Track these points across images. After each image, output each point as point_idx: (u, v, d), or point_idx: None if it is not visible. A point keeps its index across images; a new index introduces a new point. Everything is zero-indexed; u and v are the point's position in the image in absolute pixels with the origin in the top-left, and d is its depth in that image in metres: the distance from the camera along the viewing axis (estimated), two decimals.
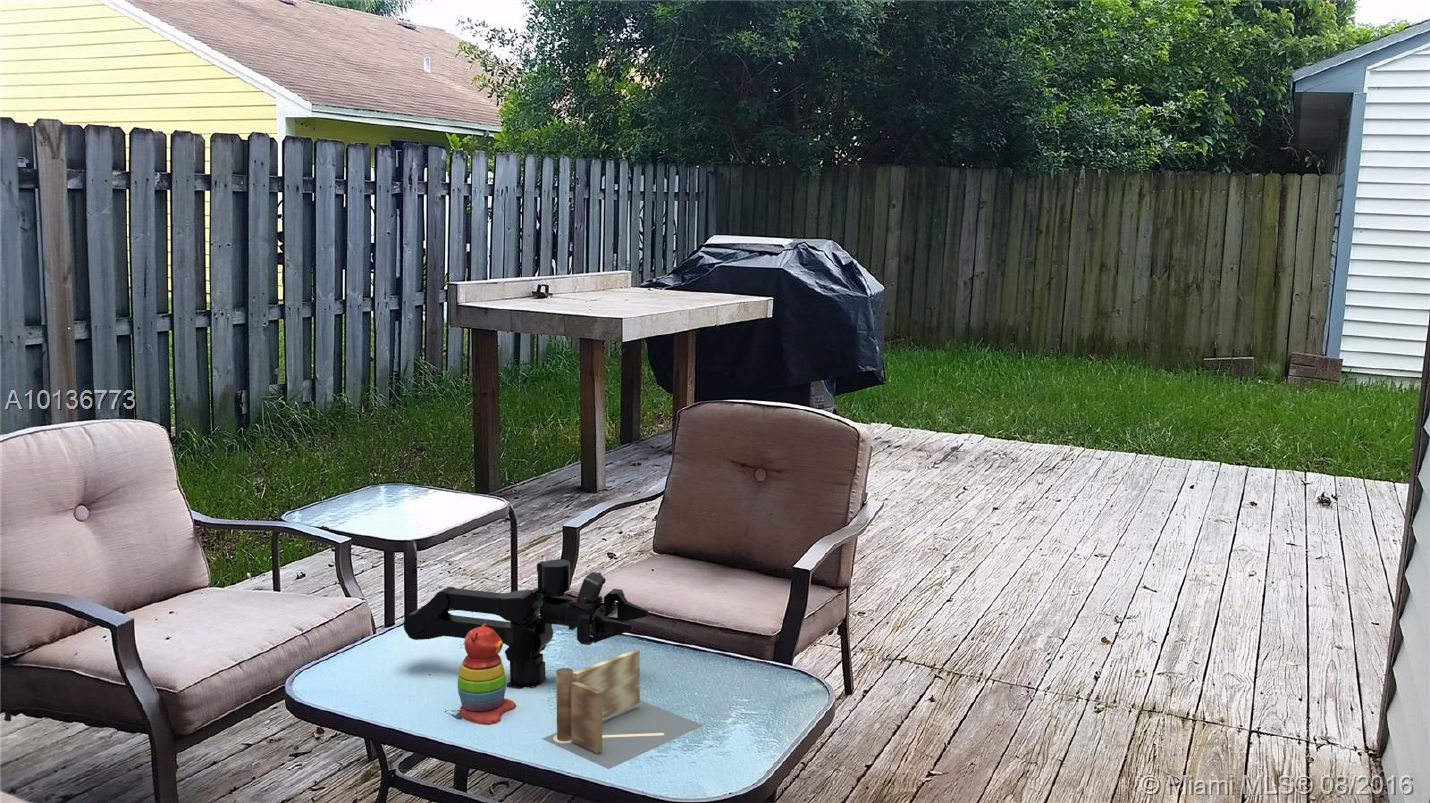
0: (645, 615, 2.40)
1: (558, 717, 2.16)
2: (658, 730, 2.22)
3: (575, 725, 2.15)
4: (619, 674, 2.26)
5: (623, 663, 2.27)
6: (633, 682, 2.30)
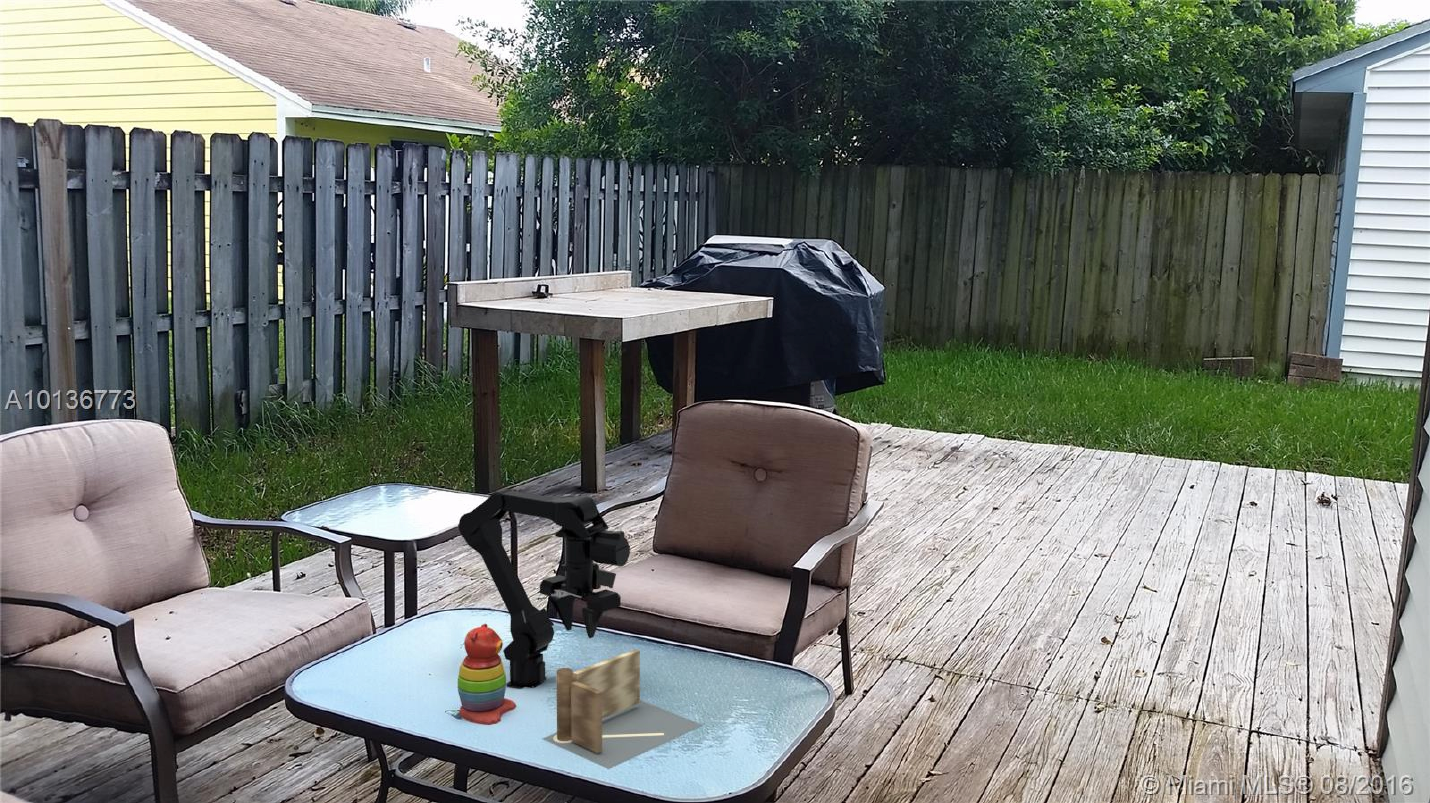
0: (568, 628, 2.40)
1: (558, 717, 2.16)
2: (658, 730, 2.22)
3: (575, 725, 2.15)
4: (619, 674, 2.26)
5: (623, 663, 2.27)
6: (633, 682, 2.30)
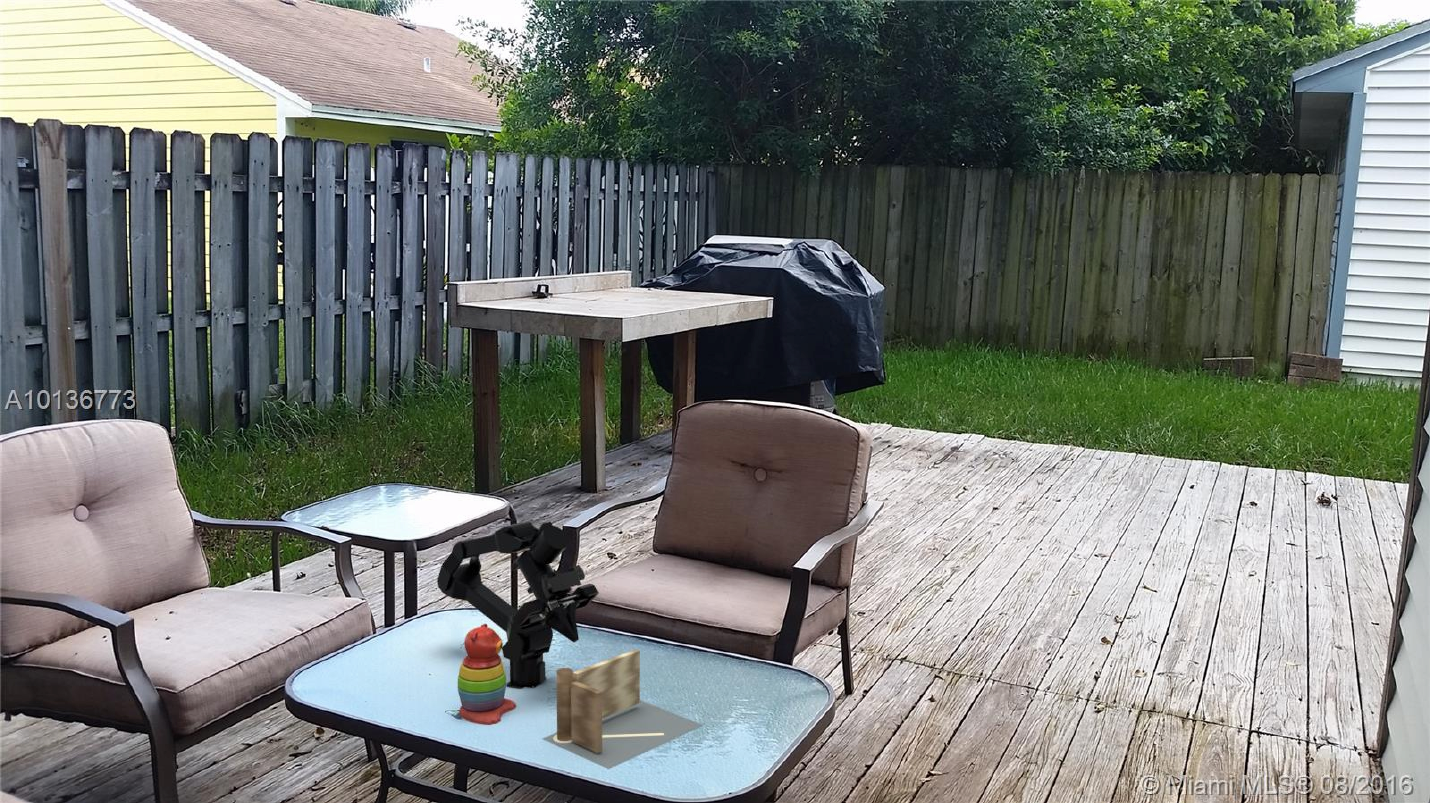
0: None
1: (558, 717, 2.16)
2: (658, 730, 2.22)
3: (575, 725, 2.15)
4: (619, 674, 2.26)
5: (623, 663, 2.27)
6: (633, 682, 2.30)
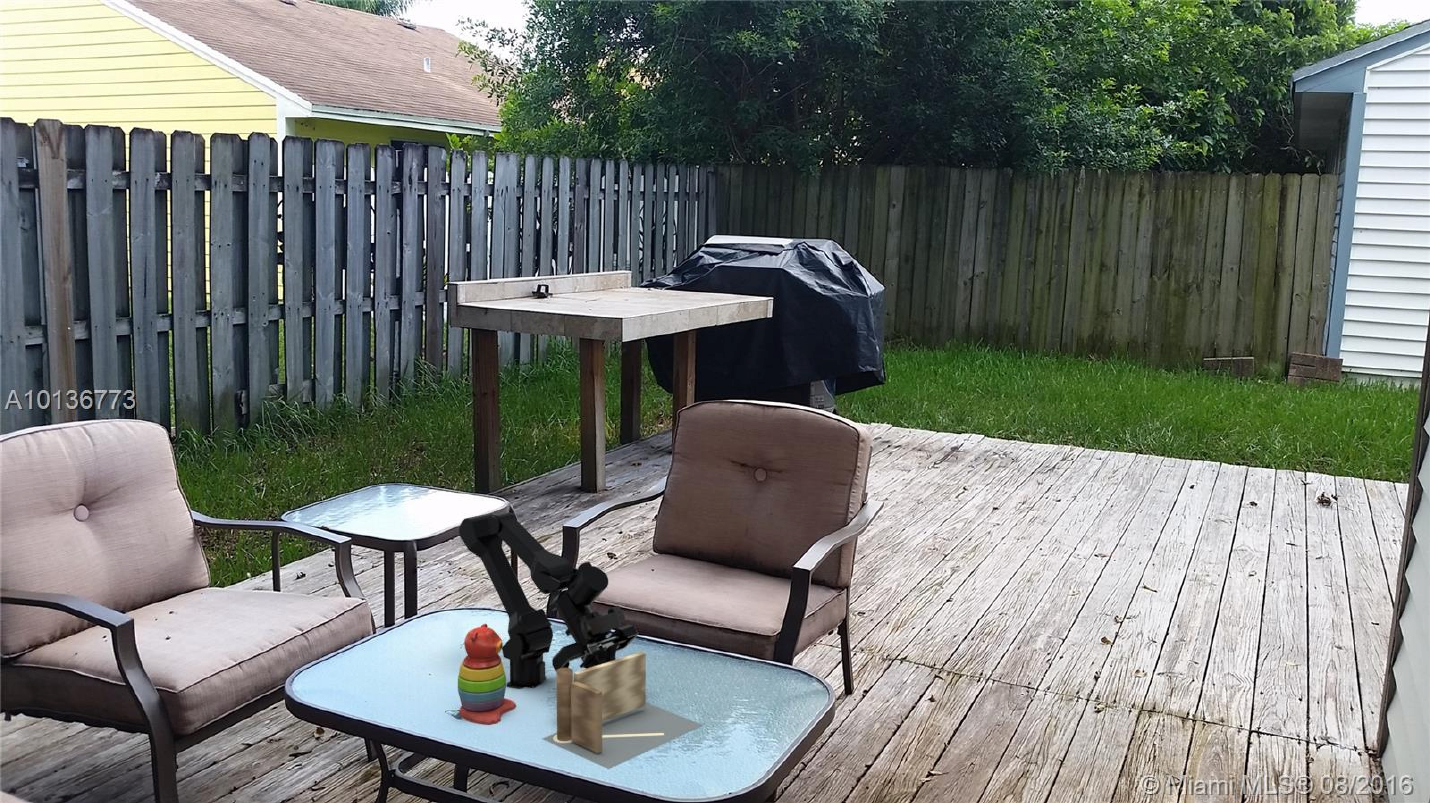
0: None
1: (558, 717, 2.16)
2: (658, 730, 2.22)
3: (575, 725, 2.15)
4: (623, 676, 2.25)
5: (627, 665, 2.26)
6: (638, 684, 2.28)
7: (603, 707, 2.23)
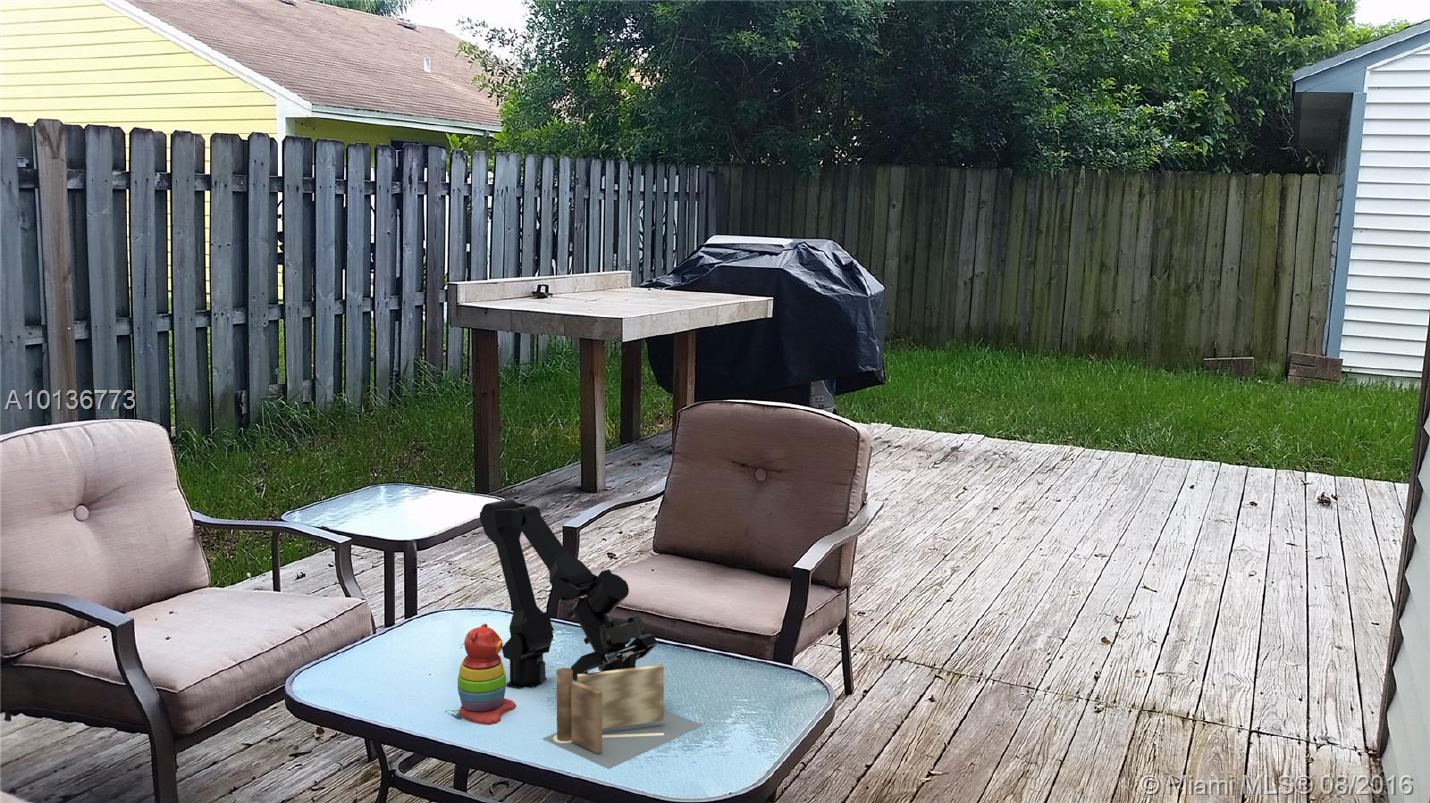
0: None
1: (558, 717, 2.16)
2: (658, 730, 2.22)
3: (575, 725, 2.15)
4: (635, 686, 2.21)
5: (640, 675, 2.21)
6: (655, 697, 2.22)
7: (610, 714, 2.20)
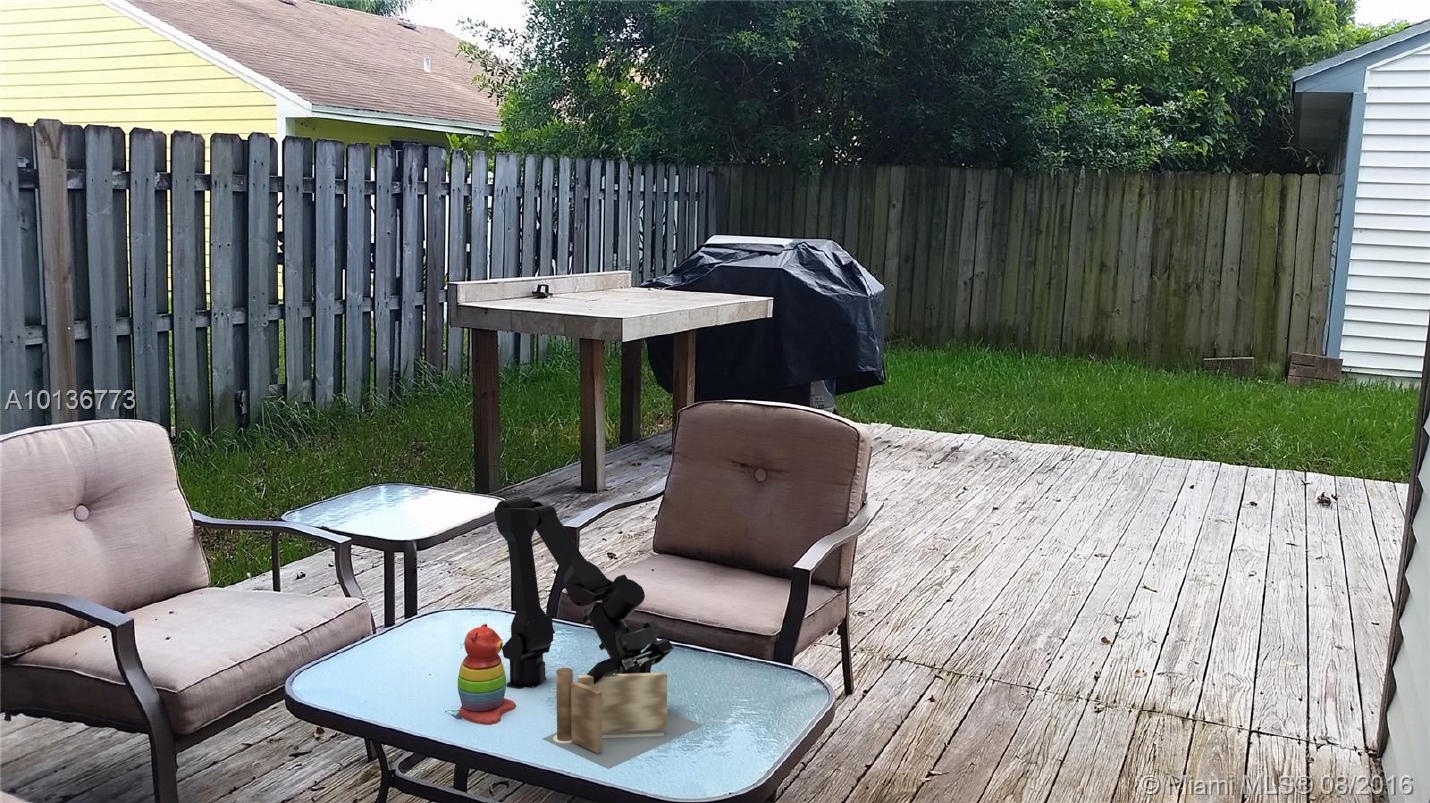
0: None
1: (558, 717, 2.16)
2: (658, 730, 2.22)
3: (575, 725, 2.15)
4: (637, 692, 2.18)
5: (642, 681, 2.18)
6: (657, 705, 2.19)
7: (611, 718, 2.18)
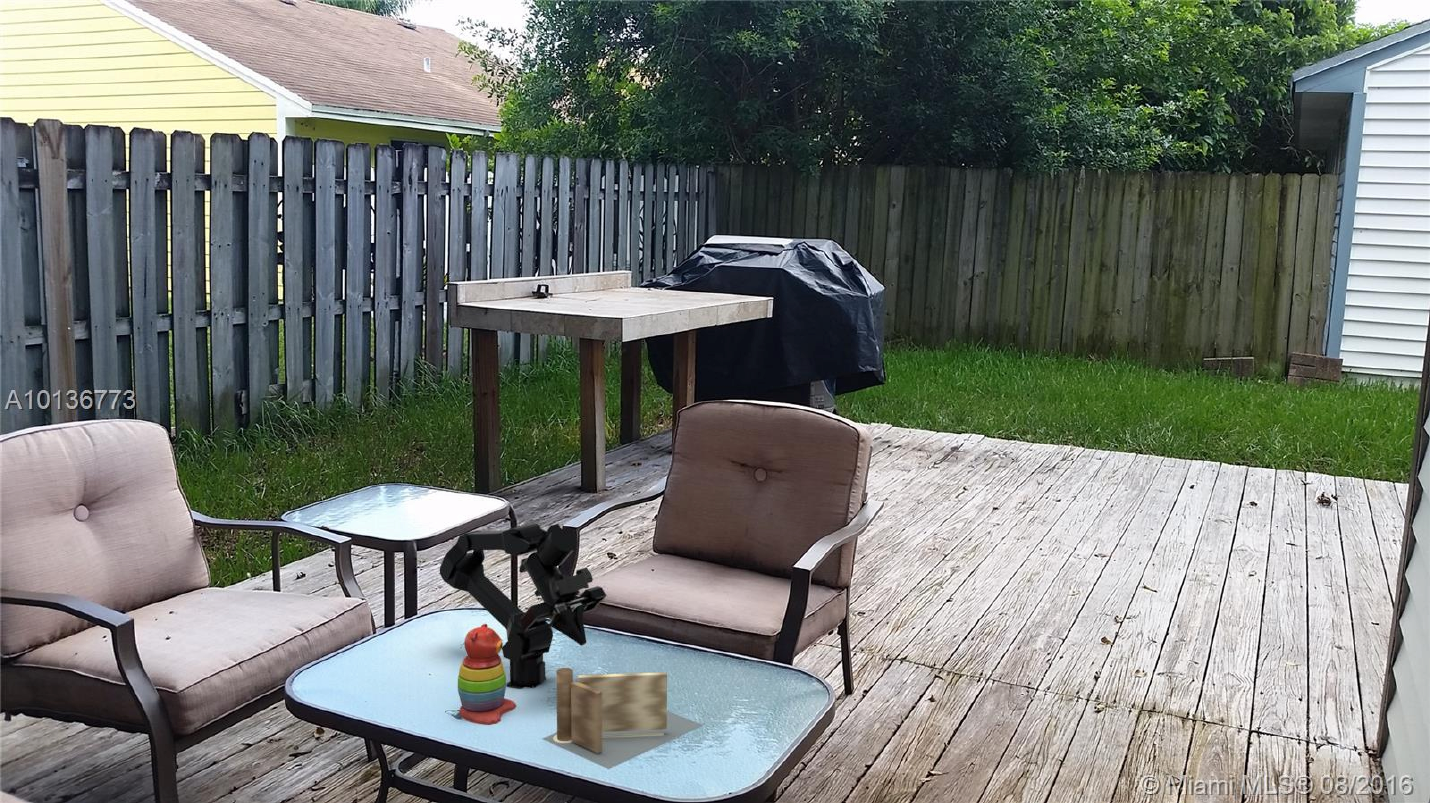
0: None
1: (558, 717, 2.16)
2: (658, 730, 2.22)
3: (575, 725, 2.15)
4: (637, 692, 2.18)
5: (642, 681, 2.18)
6: (657, 705, 2.19)
7: (611, 718, 2.18)
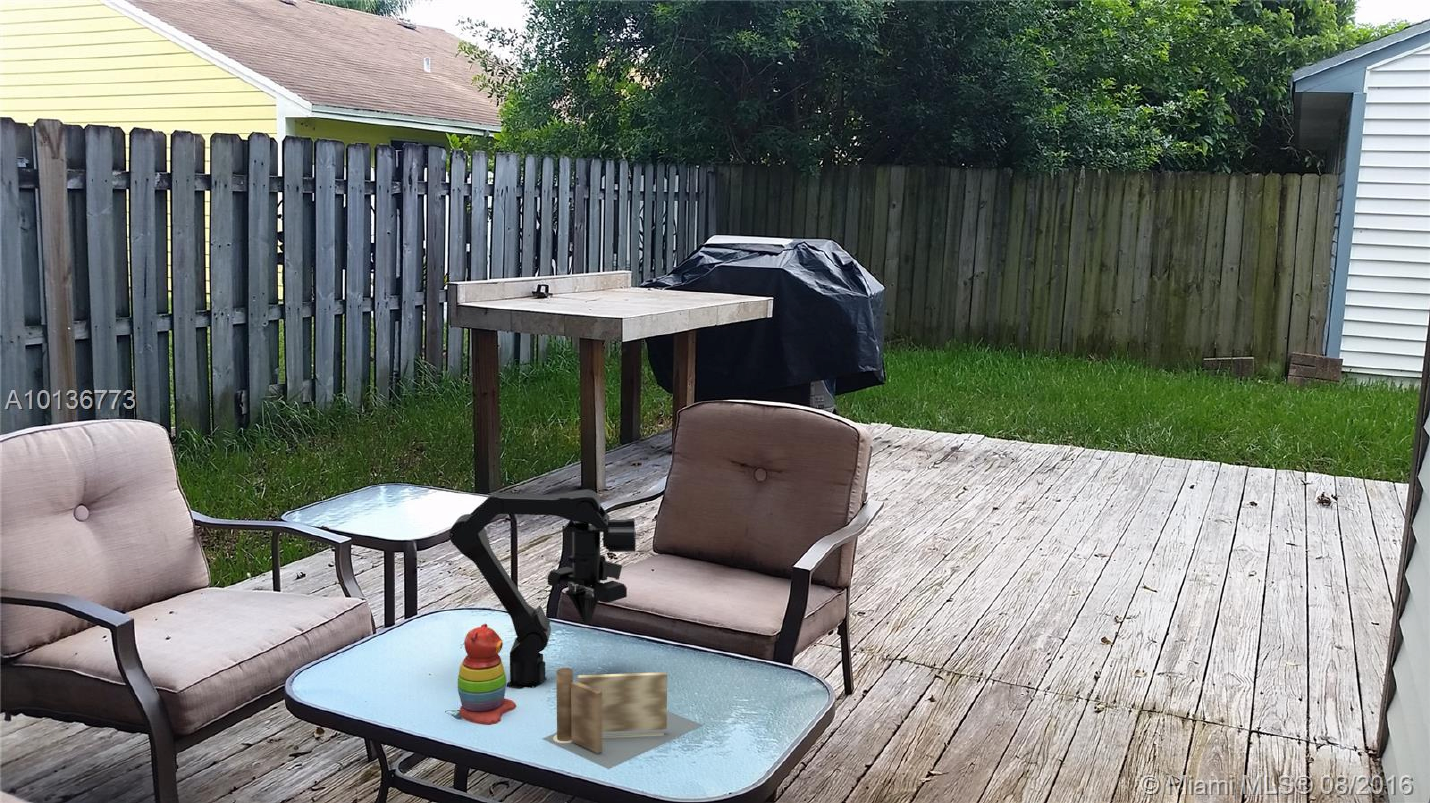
0: None
1: (558, 717, 2.16)
2: (658, 730, 2.22)
3: (575, 725, 2.15)
4: (637, 692, 2.18)
5: (642, 681, 2.18)
6: (657, 705, 2.19)
7: (611, 718, 2.18)
